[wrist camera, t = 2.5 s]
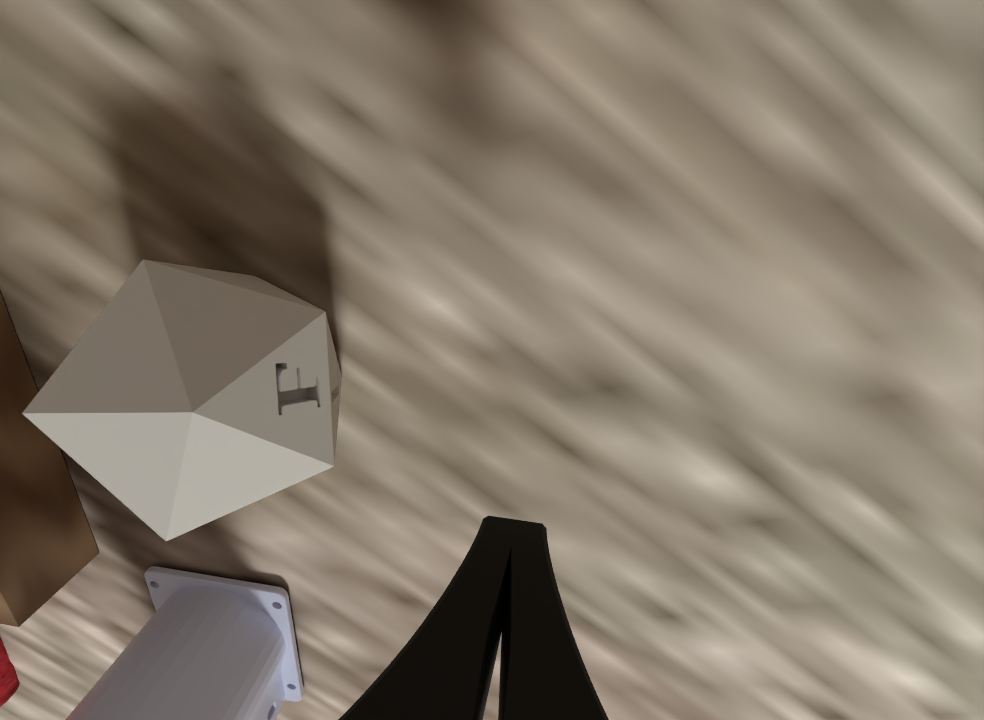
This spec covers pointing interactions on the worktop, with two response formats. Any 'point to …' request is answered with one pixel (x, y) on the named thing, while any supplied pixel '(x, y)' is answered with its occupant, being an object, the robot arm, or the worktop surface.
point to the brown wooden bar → (33, 497)
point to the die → (196, 395)
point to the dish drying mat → (6, 676)
